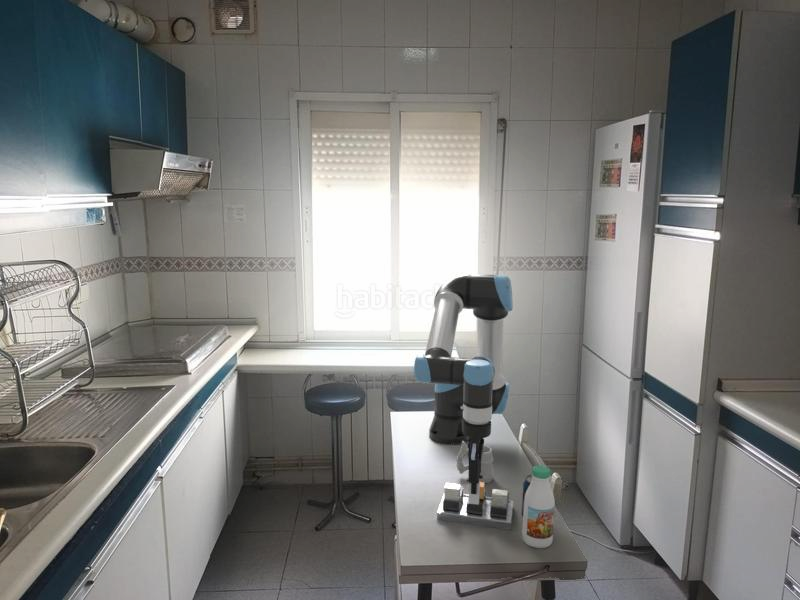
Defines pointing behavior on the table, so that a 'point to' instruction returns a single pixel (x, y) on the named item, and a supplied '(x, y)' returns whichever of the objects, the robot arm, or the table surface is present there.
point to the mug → (485, 462)
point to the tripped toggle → (482, 490)
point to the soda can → (525, 487)
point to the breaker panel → (476, 520)
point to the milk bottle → (539, 510)
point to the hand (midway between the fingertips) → (473, 502)
